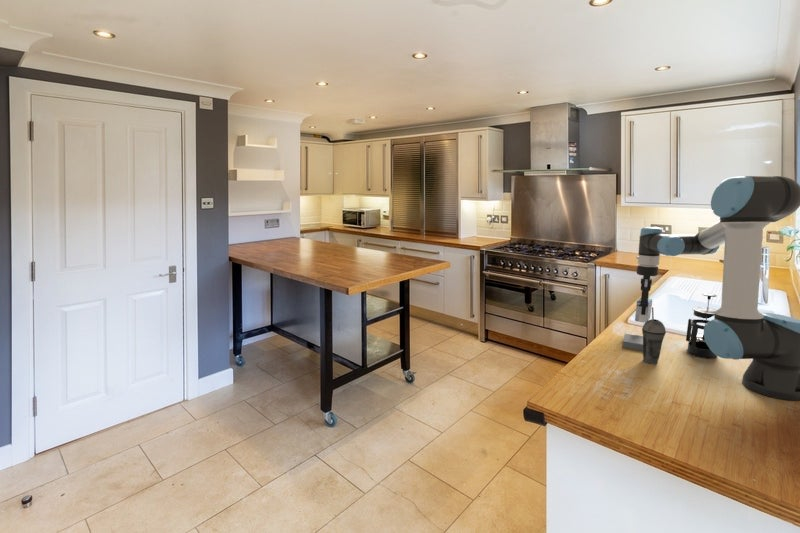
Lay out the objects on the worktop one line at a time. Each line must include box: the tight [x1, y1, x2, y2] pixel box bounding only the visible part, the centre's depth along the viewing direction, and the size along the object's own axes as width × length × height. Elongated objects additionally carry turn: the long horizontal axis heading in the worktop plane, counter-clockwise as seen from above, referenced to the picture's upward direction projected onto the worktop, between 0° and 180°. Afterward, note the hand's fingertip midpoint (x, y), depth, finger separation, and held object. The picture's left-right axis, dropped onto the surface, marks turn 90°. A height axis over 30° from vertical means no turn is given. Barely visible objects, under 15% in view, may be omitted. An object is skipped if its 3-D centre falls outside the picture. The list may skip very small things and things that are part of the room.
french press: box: [685, 292, 718, 360], centre depth 159 cm, size 12×9×23 cm
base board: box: [622, 333, 643, 352], centre depth 168 cm, size 10×11×3 cm
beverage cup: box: [641, 307, 667, 365], centre depth 152 cm, size 7×7×20 cm
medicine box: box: [634, 297, 653, 324], centre depth 178 cm, size 8×4×9 cm, turn 141°
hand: (642, 319), depth 178 cm, fingers closed on medicine box, 8 cm apart
